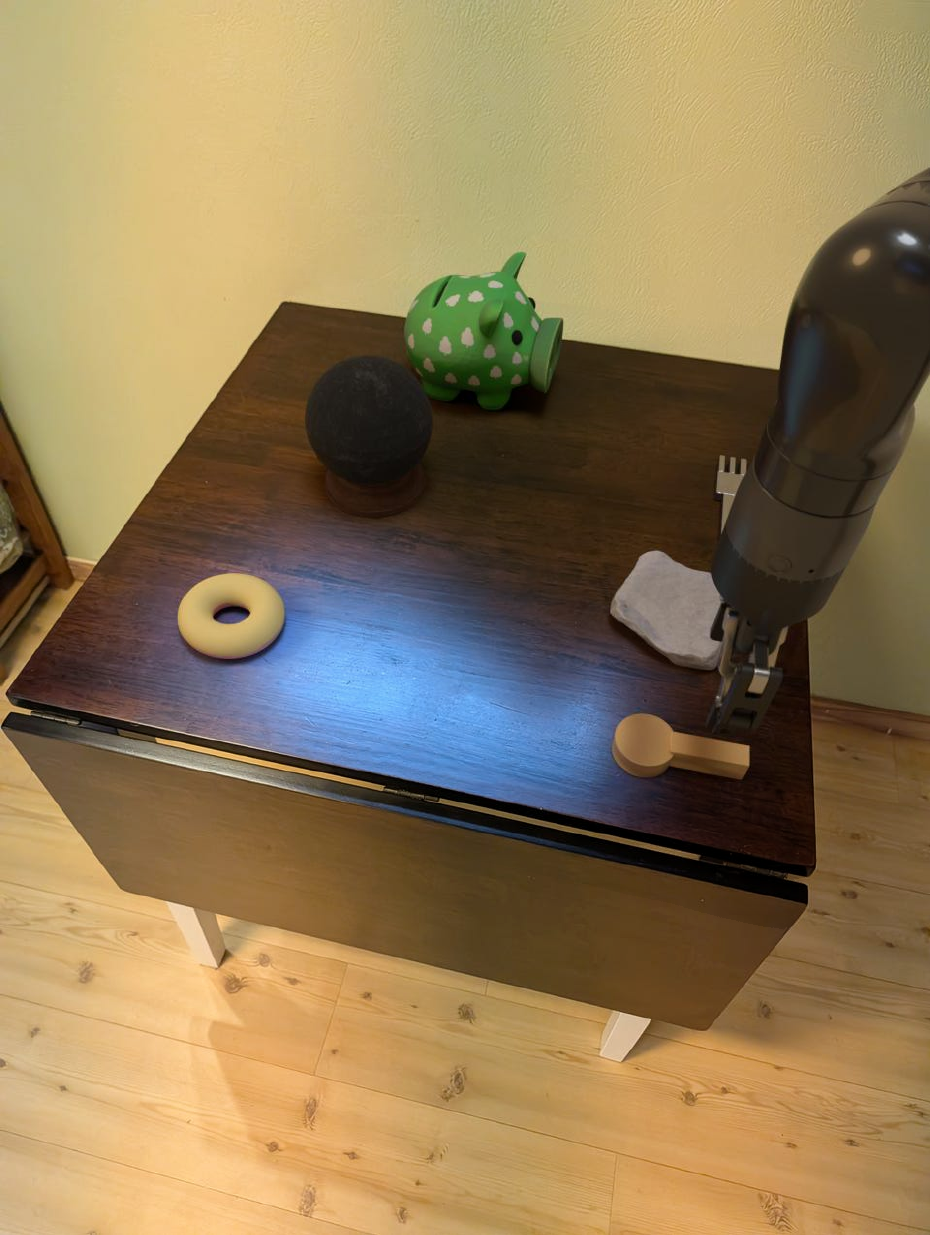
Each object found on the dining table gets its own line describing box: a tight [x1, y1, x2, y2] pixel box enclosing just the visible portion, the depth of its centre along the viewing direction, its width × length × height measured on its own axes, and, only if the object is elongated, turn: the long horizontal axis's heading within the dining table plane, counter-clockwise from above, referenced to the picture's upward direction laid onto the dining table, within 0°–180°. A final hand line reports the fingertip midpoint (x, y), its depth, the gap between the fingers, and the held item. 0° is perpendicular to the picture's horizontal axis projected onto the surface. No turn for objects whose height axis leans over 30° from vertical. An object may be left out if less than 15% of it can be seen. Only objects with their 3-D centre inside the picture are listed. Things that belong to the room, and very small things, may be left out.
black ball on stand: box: [304, 354, 434, 519], centre depth 88 cm, size 13×13×15 cm
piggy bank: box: [403, 251, 564, 411], centre depth 99 cm, size 14×18×15 cm
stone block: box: [609, 550, 722, 671], centre depth 81 cm, size 12×5×10 cm
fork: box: [713, 454, 748, 543], centre depth 92 cm, size 14×3×1 cm, turn 167°
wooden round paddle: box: [611, 712, 750, 781], centre depth 72 cm, size 11×5×2 cm, turn 78°
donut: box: [177, 572, 286, 660], centre depth 80 cm, size 10×5×9 cm
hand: (721, 682), depth 63 cm, fingers open, 8 cm apart
